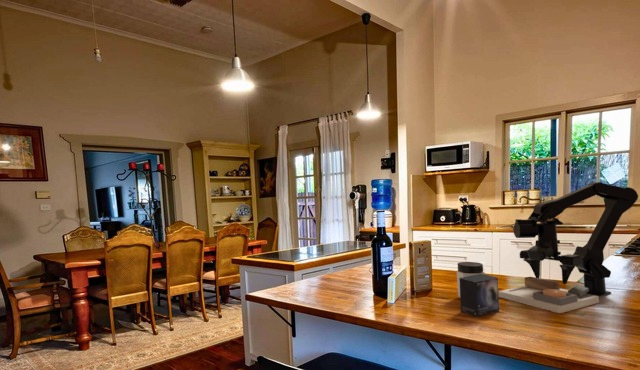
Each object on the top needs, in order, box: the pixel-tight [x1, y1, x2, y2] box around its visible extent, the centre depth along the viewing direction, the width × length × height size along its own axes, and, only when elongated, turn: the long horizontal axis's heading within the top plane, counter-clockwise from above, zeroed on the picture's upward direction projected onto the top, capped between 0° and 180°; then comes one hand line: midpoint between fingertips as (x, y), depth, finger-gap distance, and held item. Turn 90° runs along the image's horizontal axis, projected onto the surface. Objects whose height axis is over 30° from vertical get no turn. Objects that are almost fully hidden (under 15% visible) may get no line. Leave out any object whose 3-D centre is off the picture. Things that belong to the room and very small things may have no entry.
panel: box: [498, 285, 600, 314], centre depth 111 cm, size 20×20×4 cm
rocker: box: [567, 285, 589, 296], centre depth 108 cm, size 5×4×1 cm
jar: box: [456, 261, 486, 299], centre depth 116 cm, size 9×8×12 cm
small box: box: [459, 273, 501, 318], centre depth 103 cm, size 11×6×10 cm, turn 117°
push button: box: [543, 289, 566, 298], centre depth 104 cm, size 6×6×2 cm
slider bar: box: [524, 276, 561, 290], centre depth 116 cm, size 3×10×3 cm, turn 24°
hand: (550, 281), depth 118 cm, fingers open, 9 cm apart
